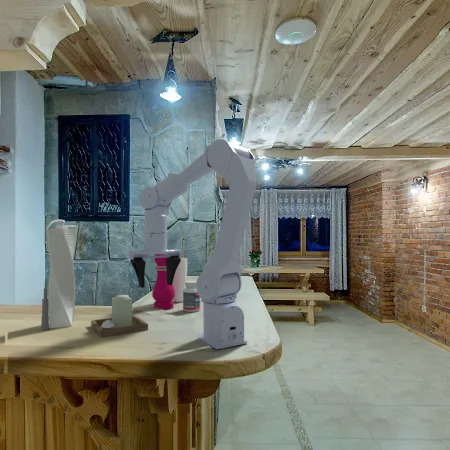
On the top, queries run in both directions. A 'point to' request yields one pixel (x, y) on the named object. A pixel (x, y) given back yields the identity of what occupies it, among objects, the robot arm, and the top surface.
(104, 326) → the steel ball
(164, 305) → the pepper mill
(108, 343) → the top surface
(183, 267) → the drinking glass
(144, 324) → the tray
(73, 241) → the skyscraper
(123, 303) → the spice tin
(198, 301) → the pill bottle
